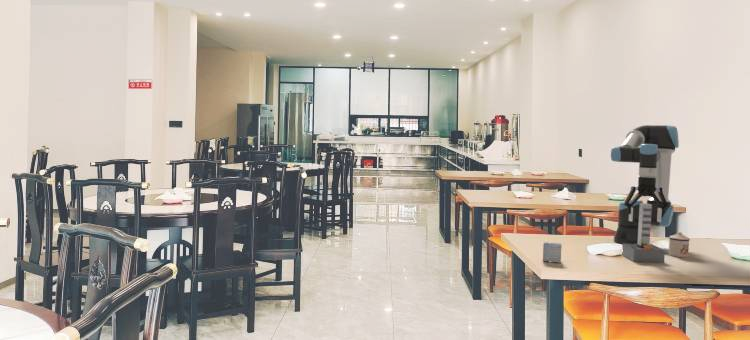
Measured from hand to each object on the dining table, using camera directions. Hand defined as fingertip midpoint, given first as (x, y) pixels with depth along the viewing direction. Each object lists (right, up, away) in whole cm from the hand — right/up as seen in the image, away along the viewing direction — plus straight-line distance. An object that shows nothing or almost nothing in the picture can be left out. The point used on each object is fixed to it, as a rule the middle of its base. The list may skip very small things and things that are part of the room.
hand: (644, 221), depth 279 cm
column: (0, -12, +1) cm, 12 cm away
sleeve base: (0, -18, +1) cm, 18 cm away
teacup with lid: (+23, -18, +12) cm, 32 cm away
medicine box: (-47, -18, -9) cm, 51 cm away
